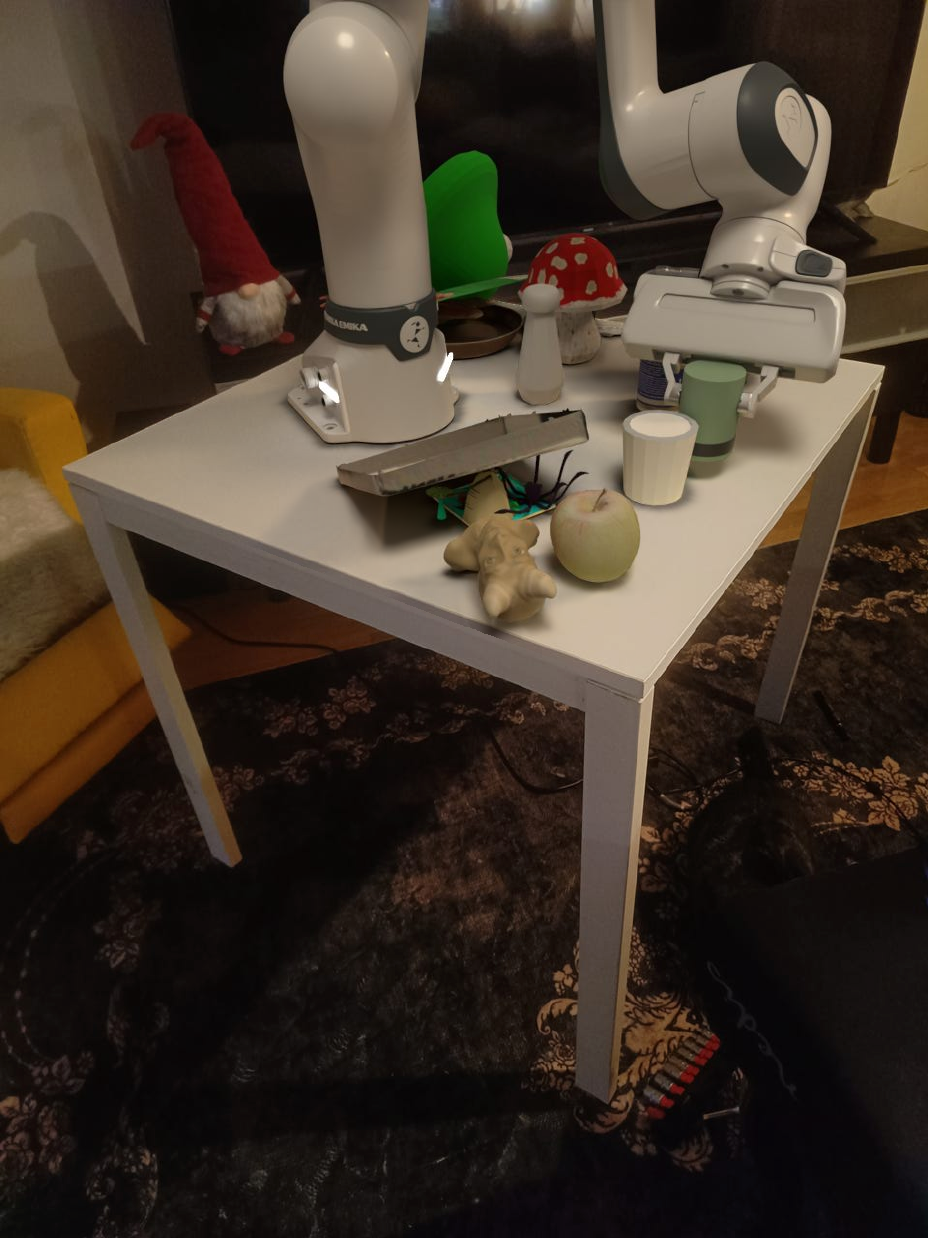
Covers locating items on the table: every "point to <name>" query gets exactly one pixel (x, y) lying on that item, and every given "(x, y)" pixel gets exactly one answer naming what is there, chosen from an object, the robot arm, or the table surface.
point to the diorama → (498, 496)
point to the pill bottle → (654, 386)
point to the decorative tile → (465, 451)
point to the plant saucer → (481, 332)
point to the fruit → (595, 534)
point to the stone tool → (461, 308)
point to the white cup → (657, 455)
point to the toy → (465, 224)
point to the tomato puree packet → (478, 287)
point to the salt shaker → (540, 347)
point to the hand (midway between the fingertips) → (708, 409)
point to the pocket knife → (609, 331)
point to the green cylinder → (712, 405)
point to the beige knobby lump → (503, 566)
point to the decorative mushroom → (577, 290)
